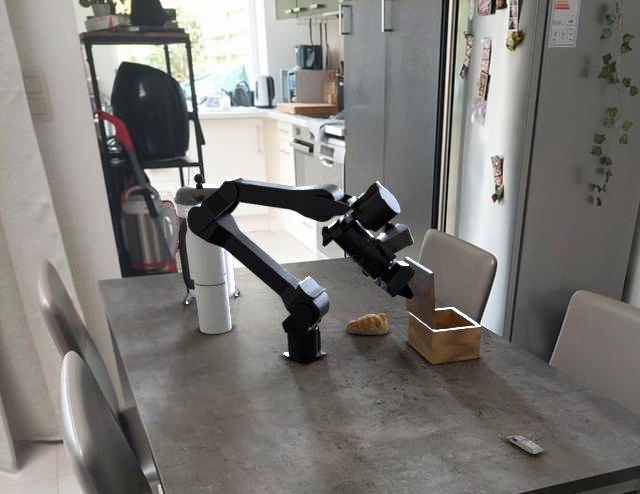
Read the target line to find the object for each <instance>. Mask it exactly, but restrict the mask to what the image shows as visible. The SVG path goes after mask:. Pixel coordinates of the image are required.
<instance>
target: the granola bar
mask: <svg viewBox="0 0 640 494" xmlns="http://www.w3.org/2000/svg"><path fill="white" fill-rule="evenodd" d="M506 439H508V441H509V442H511V443H512V444H514V445H516V446H517V447H519V448H520V449H523V450H524V451H526V452H528V453H529V454H532V455H537V454H539V453H542V452H544V451H545V449H544V448H542V447H541V446H540V445H538V444H537V443H535V442H533V441H531V440H530V439H528V438H526V437H524V436H522V435H520V434H518V433H516V434H512V435H509V436H506Z"/></svg>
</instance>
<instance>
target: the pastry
mask: <svg viewBox="0 0 640 494" xmlns="http://www.w3.org/2000/svg"><path fill="white" fill-rule="evenodd" d="M345 328H346V330H347V332H349V333H352V334H354V335H364V336H365V335H369V336H373V335H374V336H376V335H385V334H387V333H388V332H389V323H388V320H387V316H386V314H385V313H382V312H380V313H379V314H377V313H370V314H369V313H368V314H366V315H362V316H360V317H356V318H354V319H351V320H348V322H347V324H346V327H345Z"/></svg>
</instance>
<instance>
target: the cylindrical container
mask: <svg viewBox="0 0 640 494" xmlns="http://www.w3.org/2000/svg"><path fill="white" fill-rule="evenodd" d="M187 215H188V214H186V221H187ZM187 229H188V237H189V245H190V253H191V261H192V269H193V277H194V285H195V292H196V298H195V300H196V309H197V315H198V323H199V324H198V325H199V330H200V332H201V333H204V334H209V335H219V334H225V333H227V332H229V331H231V330H232V319H231V309H230V298H229V297H230V296H228V288H227V278H226V268H225V258H224V248H222V247H219V246H216V245H213V244H210V243H208V242H206V241H204V240H203V239H201V238H200V237H198V236H196V235H195V234H193V233H192V232H191V230H190V229H189V227H188V222H187Z"/></svg>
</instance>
